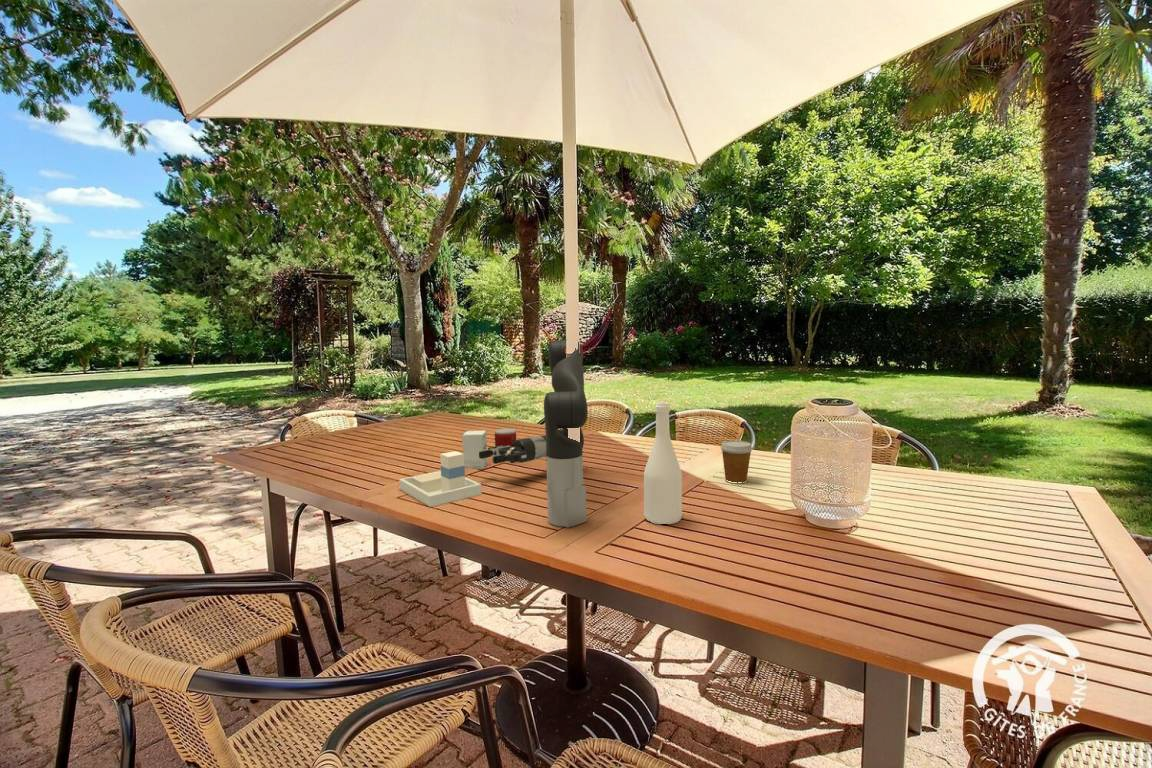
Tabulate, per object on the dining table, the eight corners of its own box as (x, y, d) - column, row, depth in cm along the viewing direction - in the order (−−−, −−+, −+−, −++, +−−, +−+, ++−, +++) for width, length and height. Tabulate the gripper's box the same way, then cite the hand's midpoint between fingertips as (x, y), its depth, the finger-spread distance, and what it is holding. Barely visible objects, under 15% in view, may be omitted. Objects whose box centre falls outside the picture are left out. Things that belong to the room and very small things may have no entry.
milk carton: (465, 493, 156) (463, 454, 155) (449, 497, 153) (447, 457, 151) (457, 490, 160) (455, 451, 158) (442, 493, 157) (439, 454, 155)
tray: (481, 497, 155) (481, 484, 155) (430, 510, 145) (429, 496, 145) (448, 481, 172) (447, 469, 172) (399, 491, 162) (399, 479, 162)
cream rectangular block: (452, 486, 163) (452, 475, 163) (421, 493, 157) (421, 482, 156) (442, 481, 168) (442, 471, 168) (412, 488, 162) (411, 477, 162)
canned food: (515, 461, 195) (514, 432, 194) (494, 462, 195) (492, 432, 194) (518, 456, 203) (517, 428, 202) (497, 456, 203) (496, 428, 202)
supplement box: (484, 470, 185) (482, 434, 184) (463, 470, 185) (461, 434, 184) (488, 464, 192) (486, 430, 191) (467, 464, 192) (466, 430, 191)
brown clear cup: (718, 476, 171) (718, 439, 170) (748, 476, 170) (749, 440, 169) (722, 485, 162) (722, 446, 161) (754, 485, 161) (755, 447, 159)
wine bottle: (659, 509, 142) (658, 399, 139) (689, 518, 136) (689, 402, 132) (636, 519, 136) (635, 403, 132) (667, 529, 129) (666, 407, 126)
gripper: (517, 434, 177) (474, 442, 167) (542, 441, 166) (497, 449, 156) (518, 456, 178) (475, 465, 168) (543, 464, 167) (498, 474, 157)
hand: (486, 457), depth 162 cm, fingers open, 8 cm apart
